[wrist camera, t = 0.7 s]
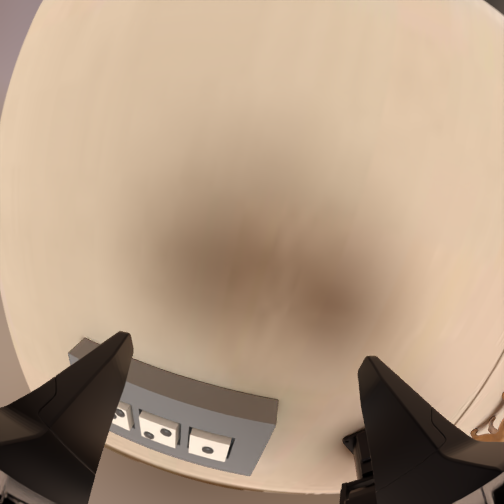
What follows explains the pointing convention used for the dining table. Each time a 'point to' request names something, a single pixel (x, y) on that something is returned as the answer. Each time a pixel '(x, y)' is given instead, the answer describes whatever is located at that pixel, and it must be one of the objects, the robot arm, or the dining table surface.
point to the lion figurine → (496, 435)
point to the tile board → (195, 413)
